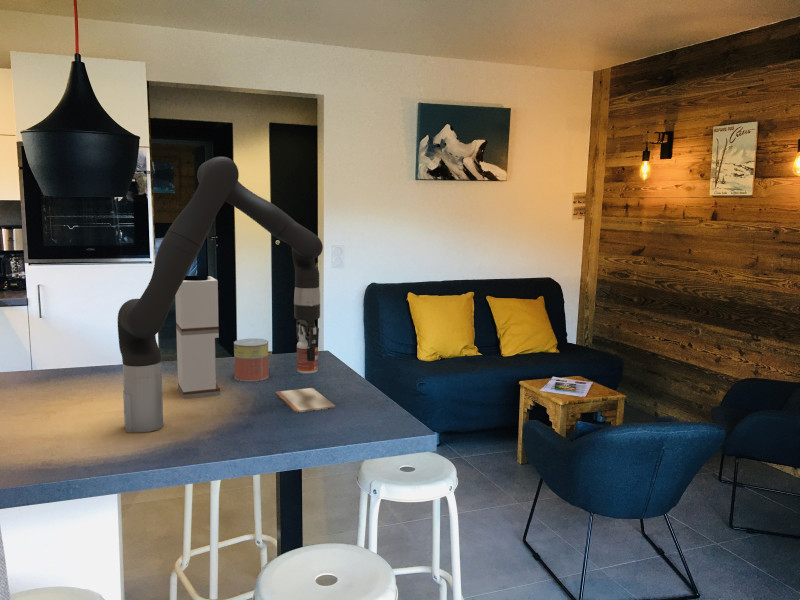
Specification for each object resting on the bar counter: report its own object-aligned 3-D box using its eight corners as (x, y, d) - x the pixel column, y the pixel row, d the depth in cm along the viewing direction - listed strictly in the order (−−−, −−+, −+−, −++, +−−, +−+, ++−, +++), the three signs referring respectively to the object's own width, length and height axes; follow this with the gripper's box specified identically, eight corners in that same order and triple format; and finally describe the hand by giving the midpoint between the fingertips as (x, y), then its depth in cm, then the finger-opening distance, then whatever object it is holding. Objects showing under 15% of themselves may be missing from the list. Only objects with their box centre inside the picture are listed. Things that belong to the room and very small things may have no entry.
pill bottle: (317, 373, 190) (318, 336, 188) (296, 374, 189) (296, 336, 187) (317, 368, 196) (317, 332, 194) (297, 368, 195) (296, 332, 193)
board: (294, 413, 182) (294, 410, 182) (275, 393, 199) (275, 391, 199) (335, 407, 187) (335, 405, 187) (312, 389, 205) (312, 387, 205)
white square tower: (219, 394, 197) (217, 280, 192) (183, 398, 193) (180, 281, 187) (213, 385, 207) (210, 276, 202) (178, 388, 203) (174, 277, 198)
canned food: (241, 371, 224) (241, 337, 223) (273, 373, 223) (273, 339, 221) (228, 380, 213) (228, 344, 212) (261, 382, 212) (261, 346, 210)
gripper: (287, 299, 194) (287, 354, 197) (302, 306, 181) (302, 365, 184) (311, 298, 197) (311, 352, 200) (327, 305, 185) (327, 362, 187)
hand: (307, 358), depth 192 cm, fingers closed on pill bottle, 6 cm apart
